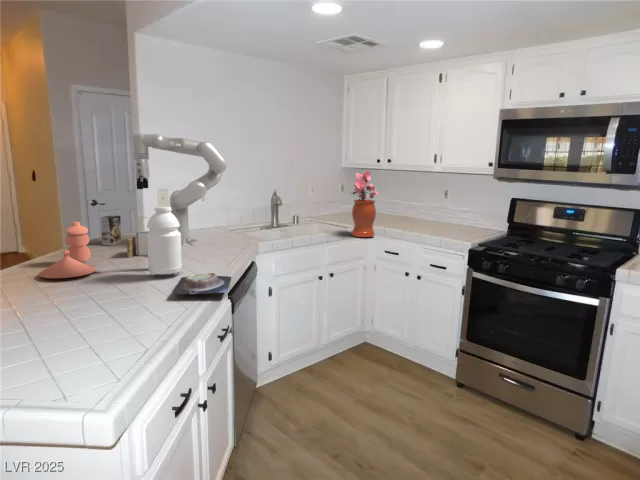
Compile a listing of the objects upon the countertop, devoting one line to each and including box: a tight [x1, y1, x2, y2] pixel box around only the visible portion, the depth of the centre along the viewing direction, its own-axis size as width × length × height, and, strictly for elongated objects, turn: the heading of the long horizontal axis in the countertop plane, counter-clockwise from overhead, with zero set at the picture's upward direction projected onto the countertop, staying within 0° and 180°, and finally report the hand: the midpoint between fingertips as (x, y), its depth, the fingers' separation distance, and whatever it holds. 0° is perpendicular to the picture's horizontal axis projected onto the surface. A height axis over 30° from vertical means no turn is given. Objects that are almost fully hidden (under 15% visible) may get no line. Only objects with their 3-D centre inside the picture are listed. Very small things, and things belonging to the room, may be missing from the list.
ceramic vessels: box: [38, 221, 96, 279], centre depth 186 cm, size 35×21×19 cm, turn 17°
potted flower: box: [349, 170, 379, 238], centre depth 292 cm, size 19×25×45 cm
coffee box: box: [100, 215, 123, 246], centre depth 242 cm, size 9×6×16 cm
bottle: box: [146, 205, 183, 275], centre depth 184 cm, size 14×14×28 cm
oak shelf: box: [126, 235, 137, 259], centre depth 217 cm, size 14×15×9 cm
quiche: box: [171, 272, 232, 295], centre depth 166 cm, size 21×20×4 cm
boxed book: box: [135, 230, 150, 257], centre depth 216 cm, size 8×5×12 cm, turn 96°
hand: (142, 188), depth 234 cm, fingers open, 9 cm apart
